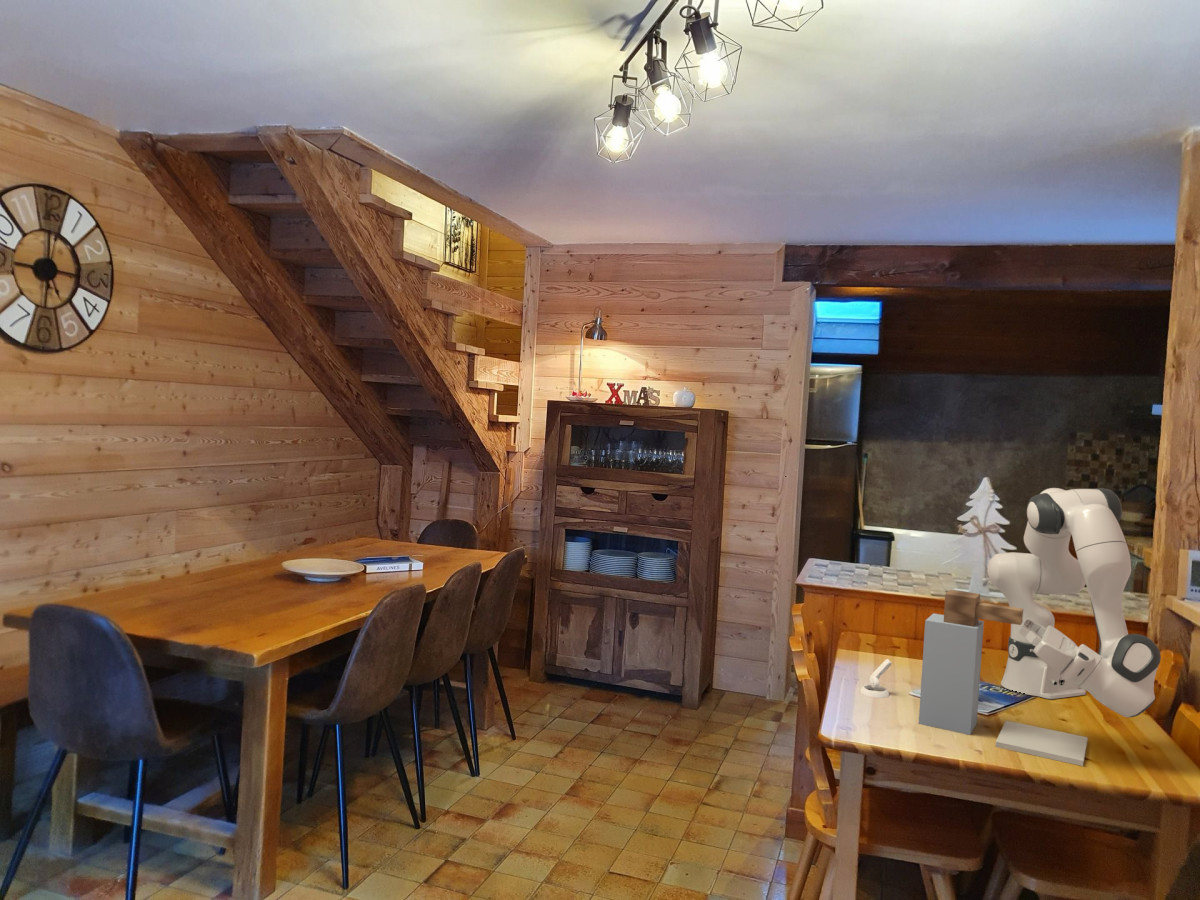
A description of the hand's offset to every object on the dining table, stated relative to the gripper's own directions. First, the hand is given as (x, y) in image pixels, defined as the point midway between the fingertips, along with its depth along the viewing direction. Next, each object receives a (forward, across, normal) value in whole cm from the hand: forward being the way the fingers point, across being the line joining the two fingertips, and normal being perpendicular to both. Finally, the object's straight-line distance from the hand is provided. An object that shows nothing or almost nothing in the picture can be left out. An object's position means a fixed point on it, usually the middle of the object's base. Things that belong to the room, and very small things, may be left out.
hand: (1023, 624), depth 210 cm
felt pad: (-19, +1, +21) cm, 28 cm away
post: (-1, 0, +32) cm, 32 cm away
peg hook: (+7, 0, +6) cm, 9 cm away
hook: (+18, -12, +42) cm, 48 cm away
